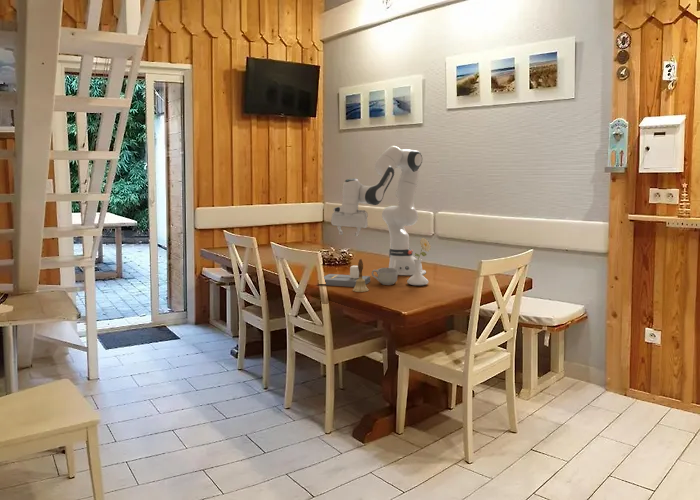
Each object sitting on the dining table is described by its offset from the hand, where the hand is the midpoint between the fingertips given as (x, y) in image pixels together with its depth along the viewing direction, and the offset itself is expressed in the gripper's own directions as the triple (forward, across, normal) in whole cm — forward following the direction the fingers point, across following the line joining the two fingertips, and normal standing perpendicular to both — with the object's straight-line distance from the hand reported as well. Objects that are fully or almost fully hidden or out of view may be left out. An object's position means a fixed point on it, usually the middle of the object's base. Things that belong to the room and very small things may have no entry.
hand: (348, 235), depth 326 cm
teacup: (+25, -19, -8) cm, 33 cm away
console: (+26, +1, -1) cm, 26 cm away
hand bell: (+27, -14, +12) cm, 33 cm away
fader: (+22, -4, -1) cm, 23 cm away
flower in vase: (+24, -36, -13) cm, 46 cm away
